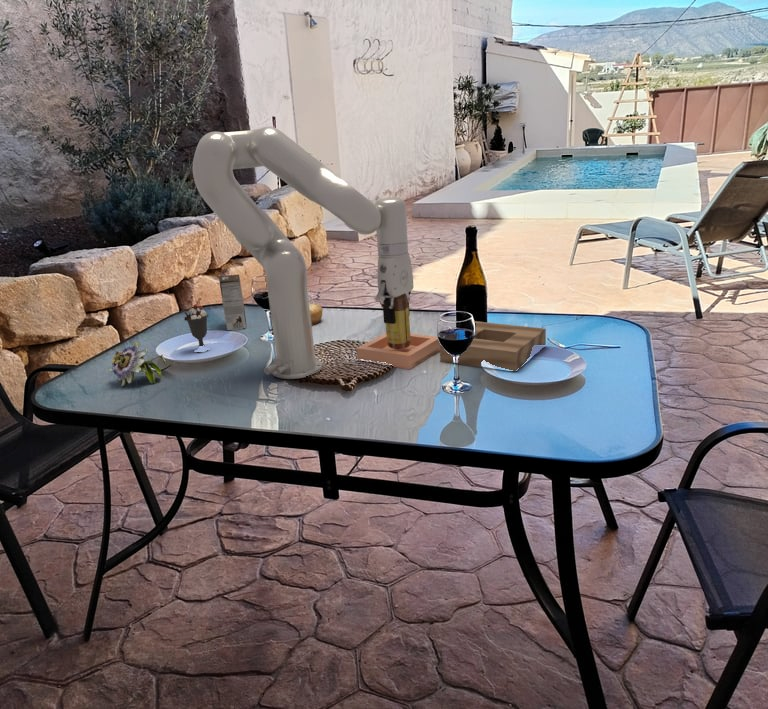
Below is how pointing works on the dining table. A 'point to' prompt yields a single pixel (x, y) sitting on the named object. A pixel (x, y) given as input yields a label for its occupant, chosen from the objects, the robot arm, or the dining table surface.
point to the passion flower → (133, 364)
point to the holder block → (499, 345)
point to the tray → (400, 351)
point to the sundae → (197, 322)
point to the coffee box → (232, 302)
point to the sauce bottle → (399, 324)
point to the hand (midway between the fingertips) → (396, 318)
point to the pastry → (315, 313)
